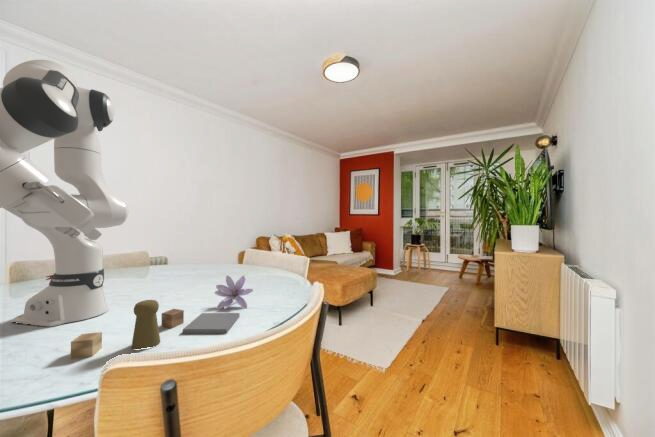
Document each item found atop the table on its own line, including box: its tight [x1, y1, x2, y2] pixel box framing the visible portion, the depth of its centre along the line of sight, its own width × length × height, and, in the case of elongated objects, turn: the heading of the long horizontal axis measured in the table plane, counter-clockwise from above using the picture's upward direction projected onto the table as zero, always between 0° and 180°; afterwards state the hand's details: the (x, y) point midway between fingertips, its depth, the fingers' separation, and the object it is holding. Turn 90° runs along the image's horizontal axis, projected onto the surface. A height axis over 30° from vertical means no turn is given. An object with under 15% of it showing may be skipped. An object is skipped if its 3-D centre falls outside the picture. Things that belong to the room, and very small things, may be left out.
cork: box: [130, 299, 161, 350], centre depth 65 cm, size 6×6×11 cm
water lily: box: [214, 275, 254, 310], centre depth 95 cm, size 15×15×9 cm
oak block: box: [70, 331, 103, 360], centre depth 61 cm, size 4×4×4 cm
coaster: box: [182, 312, 240, 335], centre depth 77 cm, size 12×12×1 cm
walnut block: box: [161, 308, 185, 329], centre depth 77 cm, size 4×4×4 cm
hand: (86, 236), depth 54 cm, fingers open, 8 cm apart
